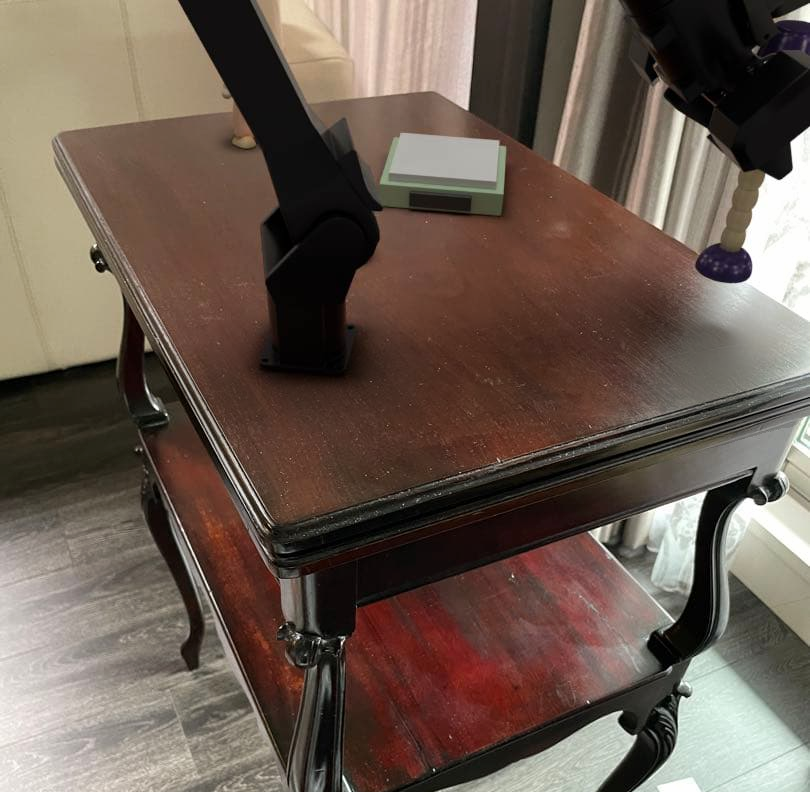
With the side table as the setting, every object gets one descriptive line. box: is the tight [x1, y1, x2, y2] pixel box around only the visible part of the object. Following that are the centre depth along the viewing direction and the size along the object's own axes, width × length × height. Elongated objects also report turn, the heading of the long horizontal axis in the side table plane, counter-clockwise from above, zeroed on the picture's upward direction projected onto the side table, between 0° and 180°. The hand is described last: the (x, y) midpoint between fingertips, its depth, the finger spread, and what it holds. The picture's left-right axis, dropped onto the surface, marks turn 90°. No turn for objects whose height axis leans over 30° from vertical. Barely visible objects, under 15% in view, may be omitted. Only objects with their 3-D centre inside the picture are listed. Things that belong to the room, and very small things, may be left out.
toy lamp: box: [694, 19, 810, 284], centre depth 59 cm, size 5×5×17 cm
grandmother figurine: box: [221, 82, 257, 150], centre depth 88 cm, size 8×4×13 cm, turn 168°
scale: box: [378, 132, 507, 217], centre depth 85 cm, size 12×12×3 cm
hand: (772, 163), depth 59 cm, fingers closed on toy lamp, 4 cm apart
